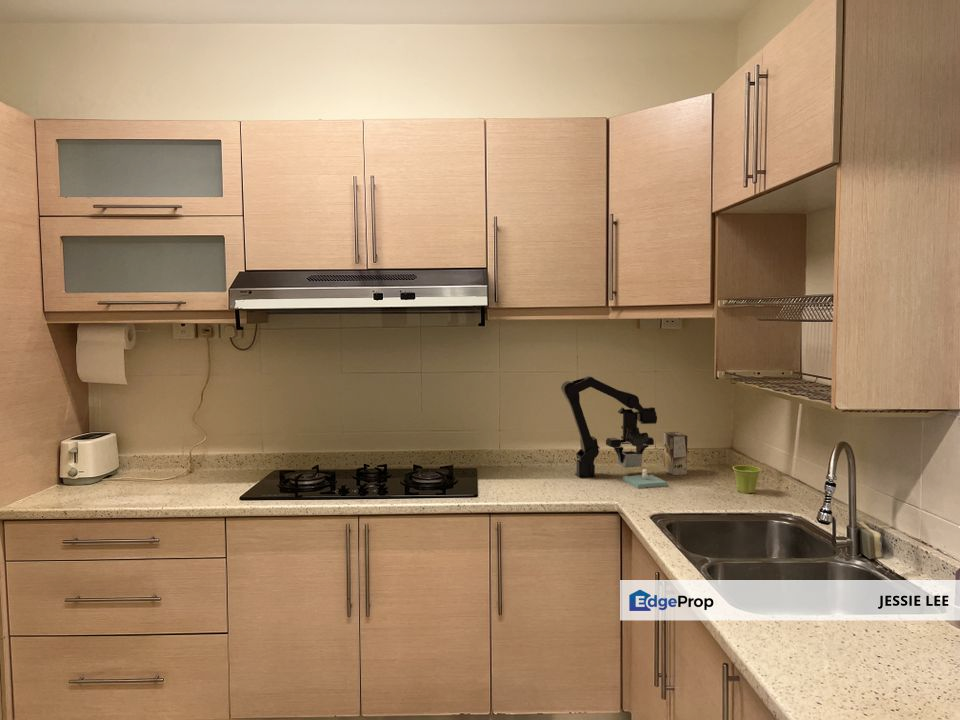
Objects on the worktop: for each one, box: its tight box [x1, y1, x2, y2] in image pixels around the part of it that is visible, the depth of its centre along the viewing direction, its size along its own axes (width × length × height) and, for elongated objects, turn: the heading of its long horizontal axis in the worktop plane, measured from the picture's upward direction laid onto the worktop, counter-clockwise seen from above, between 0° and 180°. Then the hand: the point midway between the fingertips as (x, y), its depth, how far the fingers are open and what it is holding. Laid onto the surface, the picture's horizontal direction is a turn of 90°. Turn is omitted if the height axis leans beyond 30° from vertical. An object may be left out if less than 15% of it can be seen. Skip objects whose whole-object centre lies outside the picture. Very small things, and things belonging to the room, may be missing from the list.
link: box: [617, 450, 643, 468], centre depth 253 cm, size 7×7×5 cm
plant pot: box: [732, 464, 762, 495], centre depth 228 cm, size 9×9×9 cm
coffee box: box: [663, 431, 688, 476], centre depth 256 cm, size 9×6×16 cm
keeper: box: [623, 468, 668, 489], centre depth 241 cm, size 12×12×6 cm
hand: (629, 462), depth 253 cm, fingers closed on link, 7 cm apart
